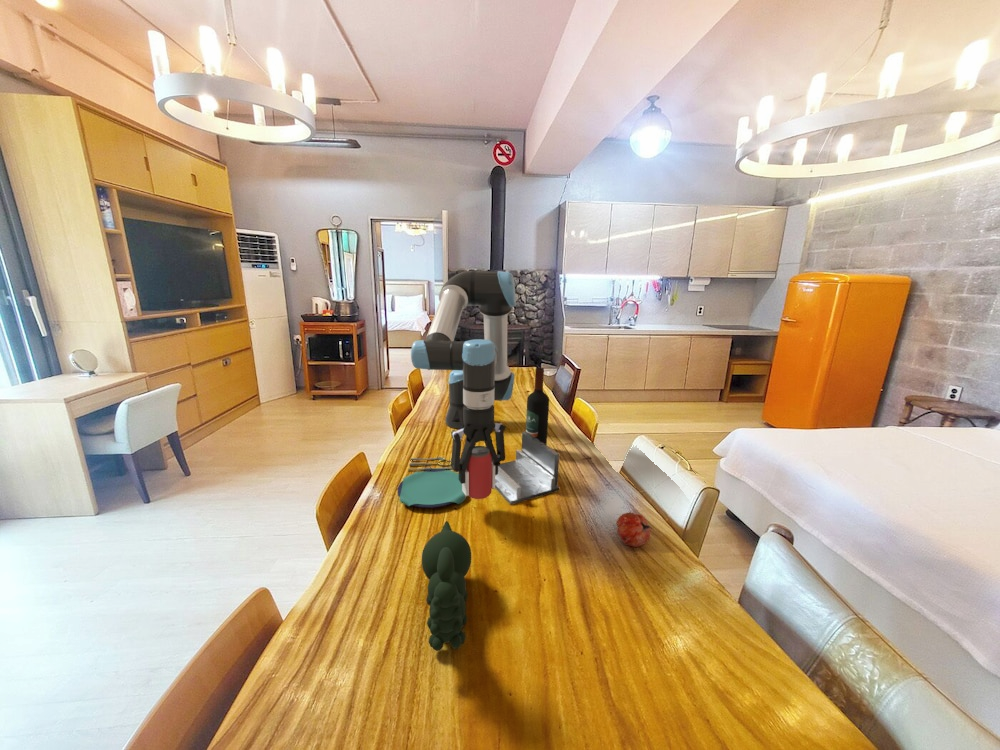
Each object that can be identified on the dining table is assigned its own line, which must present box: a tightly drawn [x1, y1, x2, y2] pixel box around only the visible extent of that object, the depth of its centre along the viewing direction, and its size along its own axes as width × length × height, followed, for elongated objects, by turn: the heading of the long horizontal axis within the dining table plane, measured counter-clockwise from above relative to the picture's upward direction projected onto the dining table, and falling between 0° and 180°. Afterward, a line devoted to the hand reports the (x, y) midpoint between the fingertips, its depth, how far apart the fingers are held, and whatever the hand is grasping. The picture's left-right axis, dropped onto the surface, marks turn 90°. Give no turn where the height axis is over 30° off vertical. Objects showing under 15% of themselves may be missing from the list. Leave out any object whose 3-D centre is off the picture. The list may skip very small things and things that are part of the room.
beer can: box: [467, 445, 493, 500], centre depth 93 cm, size 7×7×12 cm
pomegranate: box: [615, 511, 653, 548], centre depth 85 cm, size 7×7×10 cm
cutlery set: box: [396, 456, 467, 509], centre depth 110 cm, size 20×30×2 cm, turn 9°
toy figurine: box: [421, 520, 472, 652], centre depth 66 cm, size 9×19×25 cm
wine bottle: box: [525, 367, 550, 446], centre depth 127 cm, size 8×8×30 cm
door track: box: [495, 431, 560, 506], centre depth 110 cm, size 20×16×11 cm
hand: (478, 489), depth 95 cm, fingers closed on beer can, 7 cm apart
